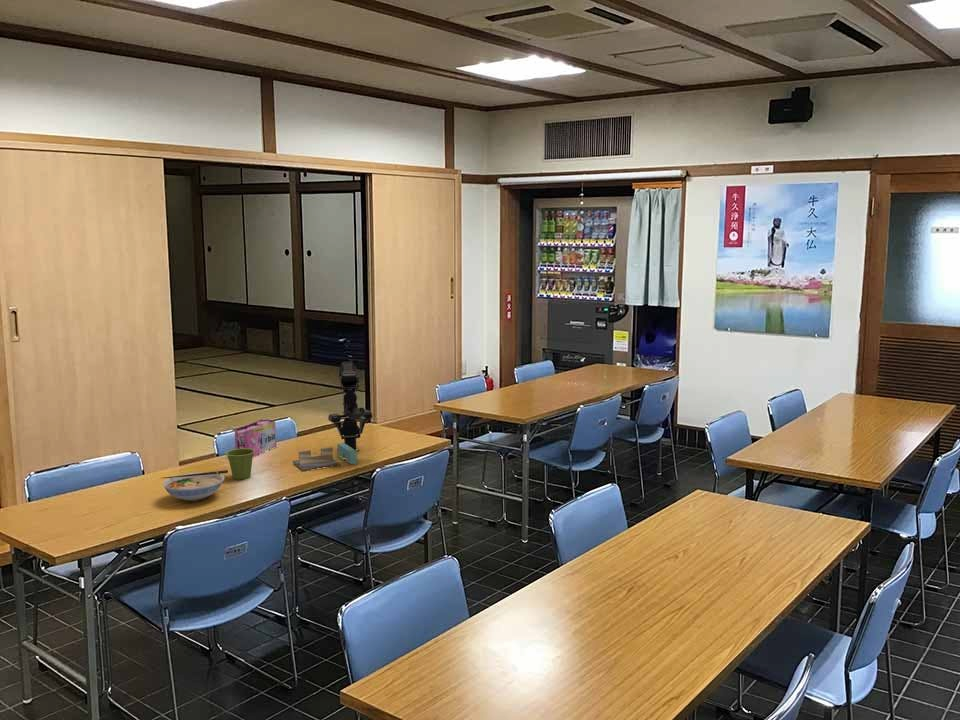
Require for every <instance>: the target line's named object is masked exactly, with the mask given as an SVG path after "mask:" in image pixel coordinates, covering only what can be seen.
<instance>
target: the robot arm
mask: <svg viewBox="0 0 960 720" xmlns="http://www.w3.org/2000/svg"><path fill="white" fill-rule="evenodd" d="M357 373H358V372H357V366H356V365H355V364H354V363H353V362H352V361H343V362H342V363H341V365H340V366H339V367H338V379H340V380H339V381H340V390H341V391H342V405H343V411H342V414H339V413H330V414H328V418H327V420H328V421H329V422H331V423H333V425H335V427H336V428H337V432H338V433H339V435H340V437H341V440H343V443H345V444H346V445H348V446H350V447H351V448H353V449H354V450H356V449H358V446H357V439H360V438H361V435H362V434H363V432H364V428H365V425H366V423H367V421H370V419H372V418H373V413H372V411H370V410H369V409H365V407H358V403H357V400H358V396H357V390H358V389H359V387H360V377H359V375H358V374H357ZM342 420H343V421H342ZM357 420H358V421H359V423H358V422H357ZM358 424H359V425H358Z"/></svg>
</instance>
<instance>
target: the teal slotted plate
mask: <svg viewBox="0 0 960 720" xmlns="http://www.w3.org/2000/svg"><path fill="white" fill-rule="evenodd" d="M357 454H358V451H356V450H354V449H353V448H351V447H350V446H348V445H346V444H345V443H344V442H339V443H337V456H338V455H339V456H341V457H342V458H346V459H345V462H346V461H347V462H348V463H350V464H355V465H358V455H357ZM339 456H338V457H339ZM347 462H346V463H347ZM348 463H347V464H348ZM350 464H349V465H350Z"/></svg>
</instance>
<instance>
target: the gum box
mask: <svg viewBox="0 0 960 720" xmlns="http://www.w3.org/2000/svg"><path fill="white" fill-rule="evenodd" d="M274 447H276V448H277V434H276V420H271V419H260V420H258V421H255V422H253V423H248V424H246V425H243V426H241V427H238V428H234V449H245V448H246V449H253V450H255V452H254V454H253V458H255V457H257V456H259V455H258V454H260V453H262V454H264V453H263V452H265V451H267V450H269V449H272V448H274ZM274 449H275V448H274ZM272 450H273V449H272ZM269 451H270V450H269ZM267 452H268V451H267ZM265 453H266V452H265ZM256 455H257V456H256ZM260 455H261V454H260ZM254 456H255V457H254Z"/></svg>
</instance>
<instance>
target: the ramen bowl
mask: <svg viewBox="0 0 960 720" xmlns="http://www.w3.org/2000/svg"><path fill="white" fill-rule="evenodd" d="M228 473H229V470H228V469H226V470H225V469H224V470H216V471H207V472H205V471H203V472H201V471H200V472H190V473H185V474H180V475H179V474H178V475H174V476H165V477H161V478H160V479H161V480H162V479H165V480H164V481H163V482H162V486H163V488H164V489H165V491H166V492H167V493H168V494H169V495H170V496H172V497H174V498H176V499H177V500H183V501H186V502H198V501H202V500H203V499H205V498H208V497H209V496H211V495H214V493H216V492H217V491H218V489H219V488H220V487H221V486H222V484H223V483H224V480H225V476H224V475H223V474H228Z"/></svg>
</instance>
